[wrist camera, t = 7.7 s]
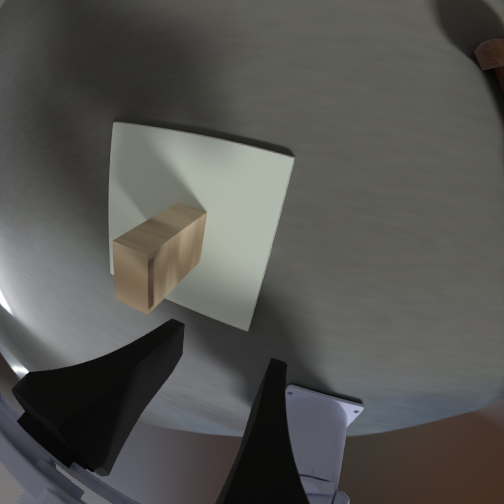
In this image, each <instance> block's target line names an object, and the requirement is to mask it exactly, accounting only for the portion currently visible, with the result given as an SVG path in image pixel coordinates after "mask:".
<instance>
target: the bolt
mask: <svg viewBox="0 0 504 504" xmlns="http://www.w3.org/2000/svg"><path fill="white" fill-rule="evenodd" d="M471 48H472V51H473V53H474V55H475V57H476V59H477V61H478V63H479V65H480V67H481V69H482V70H487V69H491V68H493V69H494V71H495V73H496V76H497V78H498V80H499V83H500V85H501V87H502V90H503V92H504V36H501V37H497V38H494V39H489V40H487V41H484V42H481V43H479V44H476V45H475V46H473V47H471Z"/></svg>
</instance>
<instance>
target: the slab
mask: <svg viewBox="0 0 504 504" xmlns="http://www.w3.org/2000/svg"><path fill="white" fill-rule="evenodd" d="M206 216H207V212H205V211H201V210H198V209H195V208H191V207H188V206H185V205H182V204H178V203H177V204H175V205H173V206H171V207H169V208H168V209H166V210H164V211H162V212H161V213H159V214H157V215H155V216H153V217H152V218H150V219H148V220H146V221H145V222H143V223H141V224H140V225H138V226H136V227H134V228H133V229H131V230H129V231H128V232H126V233H124V234H123V235H121V236H119V237H118V238H116V239H114V240H113V241H112V243H113V267H114V282H115V293H116V299H117V300H119V301H121V302H123V303H125V304H127V305H129V306H131V307H133V308H135V309H137V310H139V311H141V312H143V313H145V314H147V315H148V314H149V313H150V312H151V311H152V310H153V309H154V308H155V307H156V306H157V305H158V304H159V303H160V302H161V301H162V300H163V299H164V298H165V297H166V296H167V295H168V294H169V293H170V292H171V291H172V290H173V289H174V287H175V286H176V285H177V284H178V283H179V282H180V281H181V280H182V279H183V278H184V277H185V276H186V275H187V274H188V273H189V272H190V271H191V270H192V269H193V268H194V267H195V266H196V265H197V264H198V263H199V262H200V258H201V251H202V244H203V237H204V230H205V223H206Z"/></svg>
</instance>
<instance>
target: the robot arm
mask: <svg viewBox="0 0 504 504" xmlns="http://www.w3.org/2000/svg"><path fill="white" fill-rule="evenodd" d="M184 326H185V324H183V323H181V322H179V321H177V320H174V319H170V320H169V321H167V322H165V323H164V324H162V325H161V326H159V327H158V328H156V329H154V330H153V331H151V332H149V333H148V334H146V335H144V336H142V337H141V338H139V339H137V340H135V341H134V342H132V343H130V344H128V345H126V346H124V347H122V348H120V349H118V350H116V351H114V352H111V353H109V354H107V355H104V356H102V357H99V358H96V359H94V360H90V361H87V362H84V363H81V364H77V365H74V366H69V367H64V368H59V369H54V370H46V371H36V372H29V373H27V374H26V375H25V376H24V377H23V378H22V379H21V380H20V381H19V382H18V383H17V384H16V385H15V386H14V387H13V388H12V392H13V394H14V396H15V397H16V399H17V400H18V402H19V403H20V405H21V406H22V407H23V409H24V410H25V412H24V413H23V415H22V416H21V415H20V414H19V413H18V412H17V411H16V410H15V409H14V408H13V407H12V406H11V405H10V404H9V403H8V402H7V400H6V399H5V398H4V397H3V396H2V395H1V393H0V463H1V464H2V465H3V466H4V468H5V469H6V470H7V471H8V472H9V474H10V475H11V476H12V477H13V478H14V479H15V480H16V481H17V482H18V484H19V485H20V486H21V487H22V488H23V489H24V490H25V491H24V492H23V494H22V495H21V496H20V498H19V499H18V500H17V501H16V503H15V504H87V503H86V502H84V501H83V500H81V497H82V495H83V494H84V491H83V490H82V489H81V488H79V487H78V486H77V485H75V484H74V483H73V482H71V481H70V480H69V479H68V478H67V477H65V476H64V475H63V474H61V473H60V472H59V471H58V470H57V469H56V464H57V465H58V466H60V467H61V468H62V469H63V470H65V471H66V472H67V473H69V474H70V475H71V476H72V477H74V478H75V479H77V480H78V481H79V482H81V483H82V484H83V485H85V486H86V487H88V488H89V489H91V490H92V491H94V492H95V493H97V494H98V495H100V496H101V497H103V498H105V499H106V500H108V501H109V502H111V503H112V504H140V503H138V502H137V501H135V500H133V499H131V498H129V497H127V496H125V495H124V494H122V493H121V492H119V491H117V490H115V489H114V488H112V487H111V486H109V485H107V484H106V483H104V482H103V481H101V480H100V479H98V478H96V477H95V476H94V475H92V474H91V473H89V472H88V471H86V469H88V470H90V471H91V472H96V473H97V474H99V475H100V476H108V475H109V474H110V471H111V469H112V467H113V465H114V463H115V461H116V459H117V456H118V455H119V453H120V451H121V449H122V447H123V445H124V443H125V441H126V439H127V438H128V436H129V434H130V432H131V430H132V429H133V427H134V425H135V423H136V422H137V420H138V418H139V417H140V415H141V413H142V412H143V410H144V409H145V408H146V406H147V405H148V403H149V402H150V401H151V400H152V398H153V397H154V396H155V394H156V393H157V392H158V390H159V389H160V388H161V387H162V385H163V384H164V383H165V381H166V380H167V379H168V377H169V376H170V375H171V373H172V372H173V370H174V368H175V367H176V365H177V363H178V361H179V360H180V358H181V356H182V354H183V339H184ZM286 370H287V364H286V362H283V361H280V360H277V359H274V358H271V360H270V363H269V365H268V368H267V370H266V373H265V375H264V378H263V380H262V383H261V385H260V388H259V390H258V393H257V395H256V398H255V400H254V403H253V405H252V409H251V412H250V415H249V419H248V422H247V426H246V429H245V432H244V436H243V439H242V442H241V446H240V449H239V451H238V454H237V457H236V459H235V461H234V464H233V466H232V468H231V470H230V473H229V475H228V477H227V479H226V482H225V484H224V486H223V488H222V490H221V493H220V495H219V497H218V499H217V501H216V503H215V504H349V497H348V496H346V495H345V492H338V491H337V486H338V481H339V475H340V469H341V463H342V457H343V450H344V444H345V437H346V429H347V427H348V426H349V424H350V423H351V422H352V421H353V420H354V419H355V418H356V417H357V416H358V415H359V414H360V413H361V412H362V410H363V409H364V405H363V404H360V403H356V402H352V401H348V400H344V399H340V398H337V397H333V396H329V395H326V394H322V393H319V392H315V391H312V390H309V389H305V388H302V387H299V386H296V385H288V386H287V388H286V390H285V383H286ZM54 462H55V463H56V464H55V463H54Z"/></svg>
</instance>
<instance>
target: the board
mask: <svg viewBox="0 0 504 504" xmlns="http://www.w3.org/2000/svg"><path fill="white" fill-rule="evenodd" d="M294 161H295V157H293V156H290V155H286V154H282V153H279V152H275V151H271V150H267V149H263V148H259V147H255V146H251V145H247V144H243V143H238V142H234V141H229V140H225V139H220V138H215V137H211V136H206V135H201V134H195V133H190V132H184V131H179V130H173V129H167V128H161V127H154V126H147V125H140V124H132V123H124V122H113V131H112V142H111V155H110V173H109V251H110V269H111V274H113V275H114V267H113V243H112V241H113V240H114V239H116V238H118V237H119V236H121V235H123V234H124V233H126V232H128V231H129V230H131V229H133V228H134V227H136V226H138V225H140V224H141V223H143V222H145V221H146V220H148V219H150V218H152V217H153V216H155V215H157V214H159V213H161V212H162V211H164V210H166V209H168V208H169V207H171V206H173V205H175V204H177V203H178V204H182V205H185V206H188V207H191V208H195V209H198V210H201V211H205V212H207V216H206V223H205V230H204V237H203V244H202V251H201V258H200V262H199V263H198V264H197V265H196V266H195V267H194V268H193V269H192V270H191V271H190V272H189V273H188V274H187V275H186V276H185V277H184V278H183V279H182V280H181V281H180V282H179V283H178V284H177V285H176V286H175V287H174V289H173V290H172V291H171V292H170V293H169V294H168V295H167V296H166V297H165V299H167V300H170V301H172V302H174V303H177V304H179V305H181V306H184V307H186V308H189V309H191V310H193V311H196V312H198V313H201V314H203V315H206V316H208V317H211V318H213V319H216V320H218V321H221V322H223V323H226V324H229V325H231V326H234V327H237V328H239V329H242V330H245V331H247V332H248V330H249V328H250V325H251V321H252V318H253V314H254V311H255V307H256V303H257V300H258V296H259V293H260V289H261V285H262V282H263V278H264V274H265V271H266V267H267V263H268V260H269V256H270V252H271V249H272V245H273V241H274V237H275V234H276V230H277V226H278V222H279V219H280V215H281V211H282V207H283V203H284V199H285V196H286V192H287V188H288V184H289V180H290V176H291V172H292V168H293V165H294Z"/></svg>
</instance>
